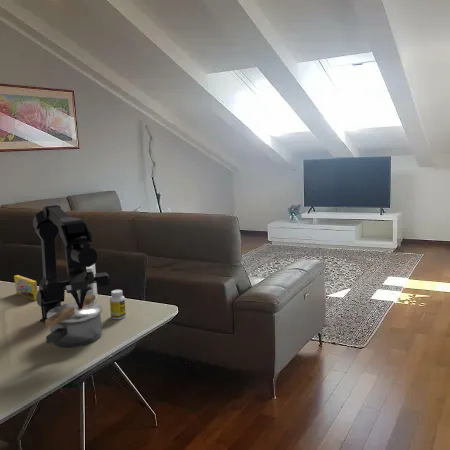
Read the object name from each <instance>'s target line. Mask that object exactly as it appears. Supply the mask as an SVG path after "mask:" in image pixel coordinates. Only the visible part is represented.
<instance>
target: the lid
mask: <svg viewBox="0 0 450 450" xmlns="http://www.w3.org/2000/svg"><path fill="white" fill-rule="evenodd" d="M94 300H95V295H87V296H86V297H85V299H84V303H83V307H82V309H79V307H78V305H77V303H76V301H75V302H68V303H64V304H61V305H60V306H57V307H55V308H53V309H51V310H50V311H49V312H48V313H47V319H46V320H45V321H44V324H45V327H54V326H56V325H57V324H69V323H77V322H82V321H86V320H89V319H92V318H94V317H96V316H98V315H99V314H100V315H101V313H102V312H103V307H102V305H101V304H100V303H98V302H96V303H95V302H92V301H94Z"/></svg>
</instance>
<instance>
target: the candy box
mask: <svg viewBox="0 0 450 450" xmlns="http://www.w3.org/2000/svg"><path fill="white" fill-rule="evenodd" d="M13 279H14V284H15V292H16V294H17V295H19V296H22V297H25V298H28V299H29V300H32V301H36V302H37V300H36V297H37V294H38V291H39V289H38V285H37V280H34V279H31V278H29V277H25V276H22V275H19V274H16V275H14V276H13Z"/></svg>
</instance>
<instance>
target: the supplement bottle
mask: <svg viewBox="0 0 450 450" xmlns="http://www.w3.org/2000/svg"><path fill="white" fill-rule="evenodd" d="M123 294H124V293H123V290H122V289H114V290H111V294H110V295H111V297H110V298H109V306H110V307H109V308H110V317H111V319H113V320H121V319H124V318H125V317H126V314H127V311H126V310H127V309H126V299H125V298H126V297H125V296H124V295H123Z"/></svg>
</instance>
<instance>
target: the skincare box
mask: <svg viewBox="0 0 450 450" xmlns="http://www.w3.org/2000/svg"><path fill="white" fill-rule="evenodd" d="M86 269H87V272H92V271H93V273H94V277H95V274H96V273H97V272H96V271H97V270H96V263H95V264H94V265H92V266H90V267H86ZM97 285H98V284H97V283H92V284H91V290H88V292H87V293H86V296H87V295H95V300H94V301H92V302H95V303H97V301H98V287H97ZM77 293H78V298H79V302H80V290H77ZM86 296H85V297H86Z"/></svg>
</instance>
